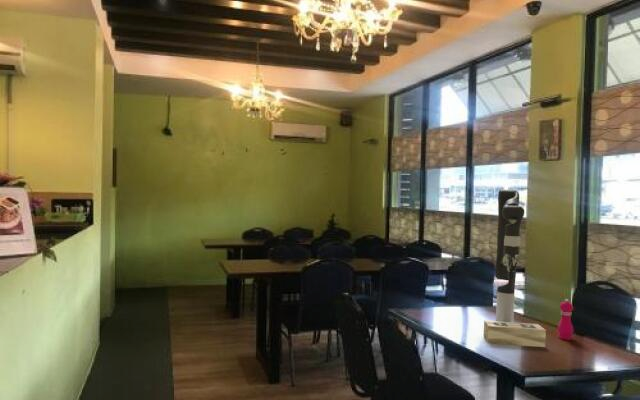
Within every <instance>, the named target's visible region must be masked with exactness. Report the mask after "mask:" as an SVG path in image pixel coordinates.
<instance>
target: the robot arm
mask: <svg viewBox="0 0 640 400" xmlns="http://www.w3.org/2000/svg"><path fill="white" fill-rule="evenodd" d="M497 196H498V197H497V199H498V200H497V201H498V202H497V203H498V204H497V205H498V206H497V208H498V215H497V216H498V218H497V233H496V234H497V235H496V244H497V245H496V257H495V258H496V260H495V267H494V275H495V279H497V280H501V281H502V280H503V281H508V282H507V283H506V284H503V285H499V286H497V289H496V292H497V293H496V311H495V312H496V315H495V321H498V322H512V323H514V315H515V314H514V313H515V312H514V311H515V310H514V309H515V290H516V289H515V287H516V278H517V277H516V276H517V264H518V262H517V258H516V256H519V255H520V245H521V243H520V241H521V238H520V237H521V236H520V233H521V225H522V221H523V219H524V217H525V209H524V207H523V206H520V205H519V204H520V192H519V191H518V190H516V189H500V190H499V191H498V195H497ZM511 220H515V222H514V223H512V222H511ZM506 255H507V256H506ZM505 256H506V258H505ZM504 258H505V263H503V261H504Z"/></svg>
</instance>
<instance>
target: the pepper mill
mask: <svg viewBox="0 0 640 400" xmlns="http://www.w3.org/2000/svg"><path fill="white" fill-rule="evenodd" d="M559 308H560V310H561V311H560V315H561V319H560V321H559V323H558V326H557V331H558V332H559V333H558V338H559V339H561V340H569V341H570V340H573V335H572V334H573V333H574V326H573V324H572V322H571V321H572V319H571V316H572V315H573V314H572V313H573V312H572V311H573V310H574V306H573V304H572V303H571V302H570V301H569V299H568V298H565V299H564V301H562V302H561V303H560V305H559Z"/></svg>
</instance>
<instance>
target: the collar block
mask: <svg viewBox="0 0 640 400" xmlns="http://www.w3.org/2000/svg"><path fill="white" fill-rule="evenodd" d="M496 323H503V324H505V325H496ZM524 325H531V326H532V327H524ZM546 333H547V329H545V328H544V327H542V326H541V325H539V323H525V322H513V323H512V322H498V321H496V320H495V321H494V320H483V338H484V339H485V340H486V342H487V344H498V345H500V344H501V345H508V346H524V347H539V348H546Z"/></svg>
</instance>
